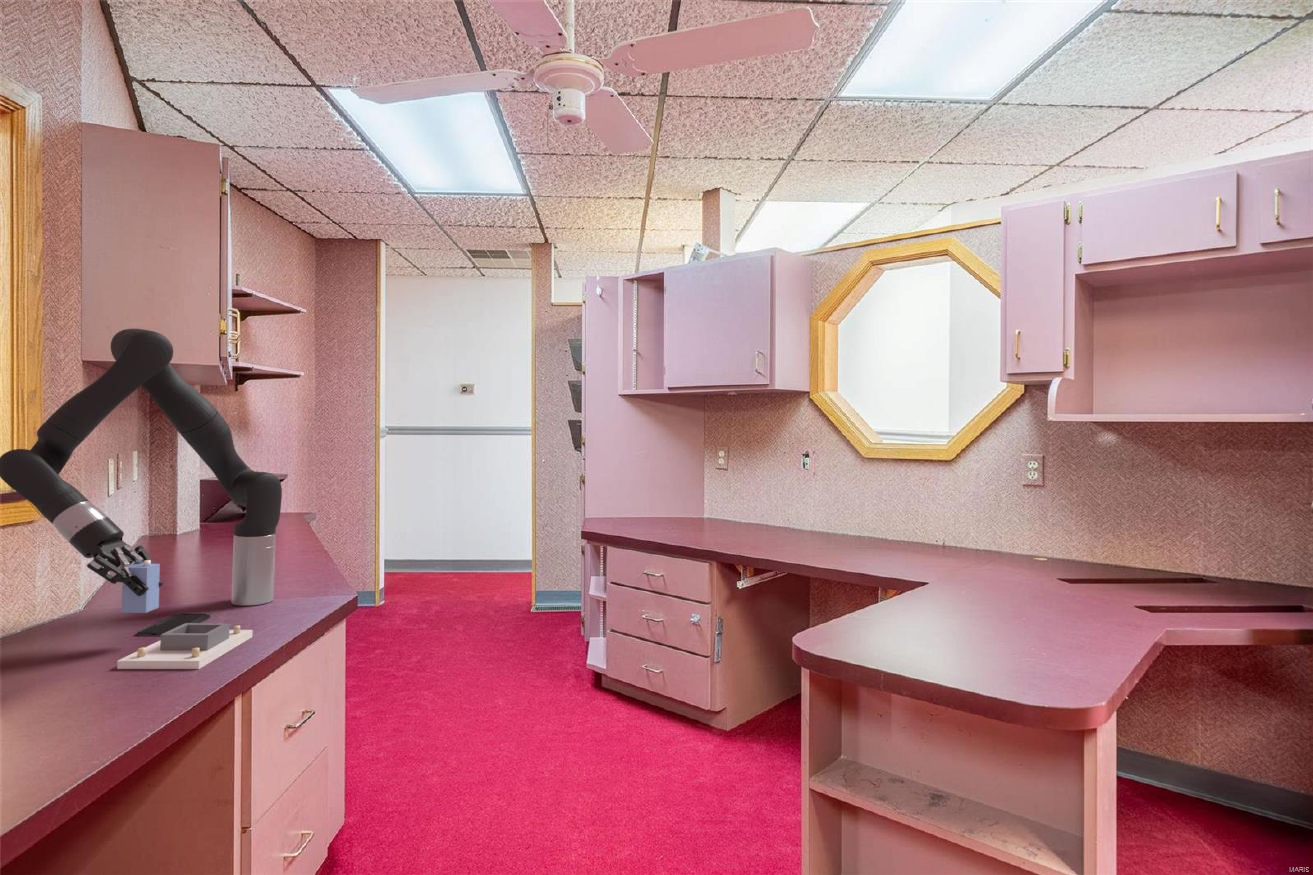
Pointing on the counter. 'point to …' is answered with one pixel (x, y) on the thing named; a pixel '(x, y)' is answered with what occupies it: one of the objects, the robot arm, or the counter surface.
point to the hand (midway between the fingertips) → (151, 589)
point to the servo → (151, 597)
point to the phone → (172, 623)
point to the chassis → (187, 647)
